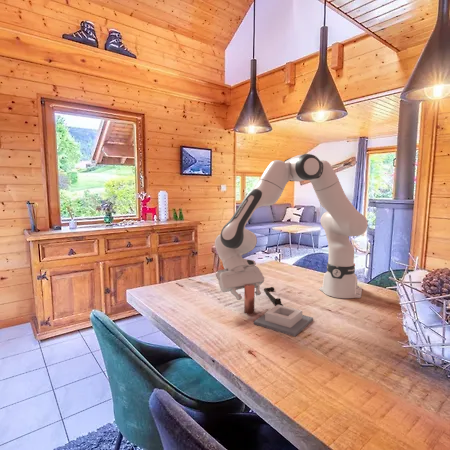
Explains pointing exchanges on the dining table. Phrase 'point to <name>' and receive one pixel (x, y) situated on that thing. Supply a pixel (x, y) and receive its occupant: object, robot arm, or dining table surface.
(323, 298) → the dining table surface
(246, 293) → the pin
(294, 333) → the socket board
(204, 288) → the dining table surface
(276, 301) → the black hooked rod
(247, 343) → the dining table surface
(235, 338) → the dining table surface
